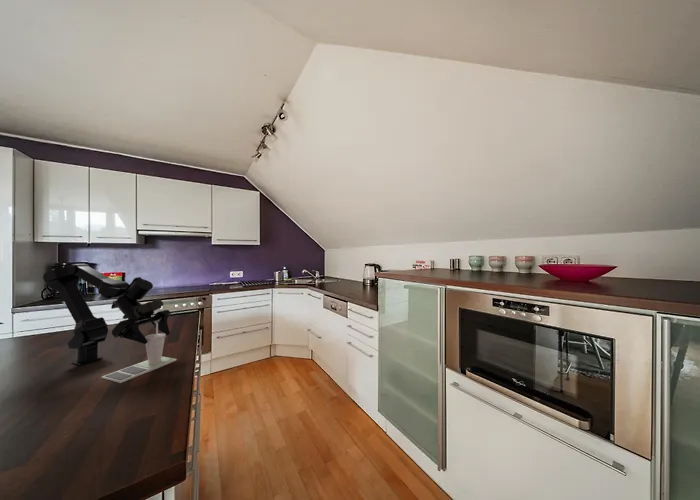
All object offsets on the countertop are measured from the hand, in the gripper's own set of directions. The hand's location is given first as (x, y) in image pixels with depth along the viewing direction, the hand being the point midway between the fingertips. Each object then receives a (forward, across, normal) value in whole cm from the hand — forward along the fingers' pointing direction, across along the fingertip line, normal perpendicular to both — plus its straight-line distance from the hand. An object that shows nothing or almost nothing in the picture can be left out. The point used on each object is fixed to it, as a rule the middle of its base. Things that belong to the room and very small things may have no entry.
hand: (158, 338), depth 90 cm
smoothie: (+5, 0, +7) cm, 9 cm away
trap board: (+5, -4, +8) cm, 10 cm away
